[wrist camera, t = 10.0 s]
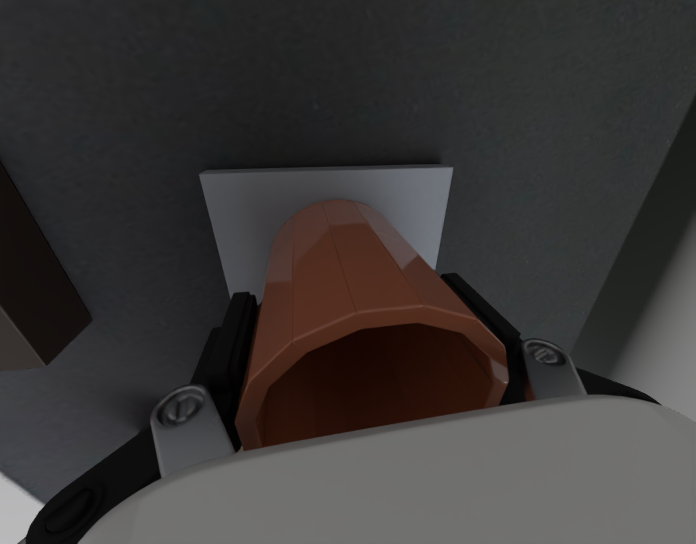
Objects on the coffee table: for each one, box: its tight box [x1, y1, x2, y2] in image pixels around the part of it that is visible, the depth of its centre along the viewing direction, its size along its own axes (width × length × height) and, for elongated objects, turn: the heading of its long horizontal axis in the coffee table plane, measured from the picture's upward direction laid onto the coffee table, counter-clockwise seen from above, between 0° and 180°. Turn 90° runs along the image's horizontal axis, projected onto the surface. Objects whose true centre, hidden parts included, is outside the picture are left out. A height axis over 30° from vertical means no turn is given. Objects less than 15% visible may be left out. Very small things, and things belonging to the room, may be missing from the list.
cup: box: [234, 200, 509, 451], centre depth 11 cm, size 7×7×9 cm
